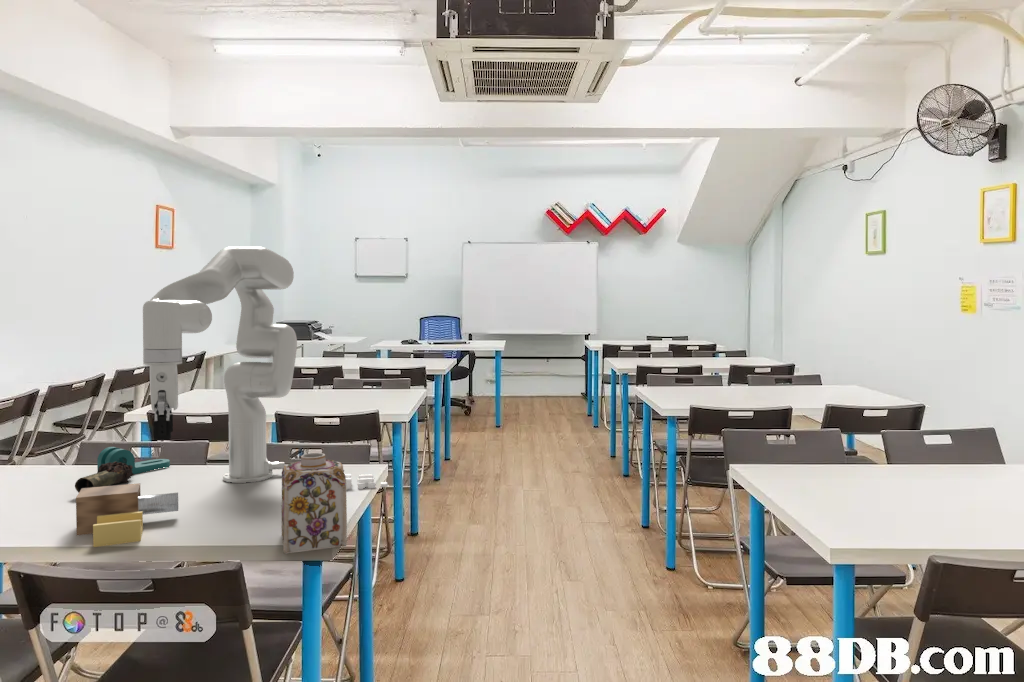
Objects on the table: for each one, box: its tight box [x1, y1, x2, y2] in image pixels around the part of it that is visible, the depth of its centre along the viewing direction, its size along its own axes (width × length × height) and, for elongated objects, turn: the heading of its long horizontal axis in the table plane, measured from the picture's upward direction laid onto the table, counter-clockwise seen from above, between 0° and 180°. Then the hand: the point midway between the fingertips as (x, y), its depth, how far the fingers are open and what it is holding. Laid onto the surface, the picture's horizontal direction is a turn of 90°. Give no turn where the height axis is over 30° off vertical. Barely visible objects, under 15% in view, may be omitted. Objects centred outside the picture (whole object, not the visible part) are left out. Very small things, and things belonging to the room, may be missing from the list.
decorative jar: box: [280, 452, 348, 554], centre depth 135 cm, size 12×12×18 cm
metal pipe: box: [74, 461, 135, 493], centre depth 176 cm, size 18×7×6 cm, turn 177°
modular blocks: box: [344, 473, 390, 491], centre depth 178 cm, size 20×7×4 cm, turn 105°
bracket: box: [96, 446, 171, 475], centre depth 195 cm, size 18×7×8 cm, turn 145°
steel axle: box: [138, 492, 179, 516], centre depth 147 cm, size 18×4×4 cm, turn 115°
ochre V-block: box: [92, 511, 144, 548], centre depth 137 cm, size 8×7×4 cm
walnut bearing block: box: [75, 482, 142, 536], centre depth 145 cm, size 11×8×8 cm
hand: (163, 435), depth 149 cm, fingers open, 9 cm apart
